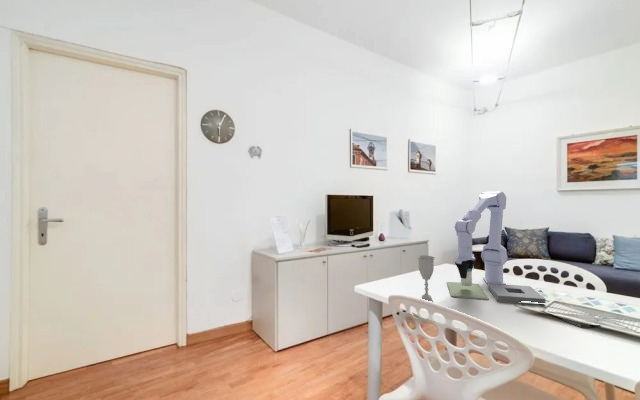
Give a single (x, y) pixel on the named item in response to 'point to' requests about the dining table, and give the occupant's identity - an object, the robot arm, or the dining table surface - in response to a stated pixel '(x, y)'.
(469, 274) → the cylinder
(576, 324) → the phone
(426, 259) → the chalice
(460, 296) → the mat
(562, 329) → the dining table surface
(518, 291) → the housing
